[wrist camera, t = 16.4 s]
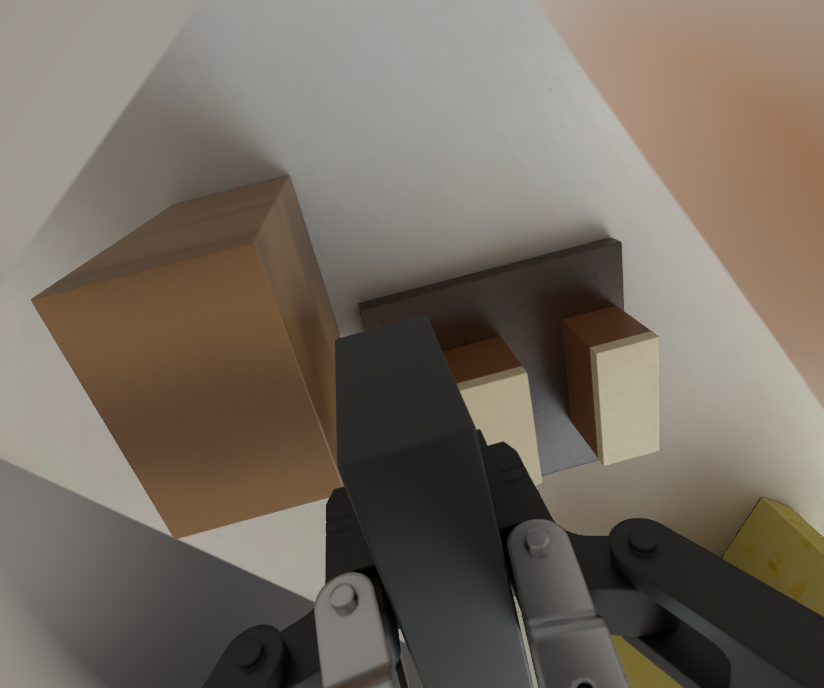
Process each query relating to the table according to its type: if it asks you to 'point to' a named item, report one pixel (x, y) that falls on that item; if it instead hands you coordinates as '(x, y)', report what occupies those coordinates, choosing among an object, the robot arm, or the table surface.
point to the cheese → (755, 574)
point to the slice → (613, 383)
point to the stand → (210, 356)
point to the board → (522, 326)
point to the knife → (426, 507)
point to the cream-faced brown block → (497, 397)
